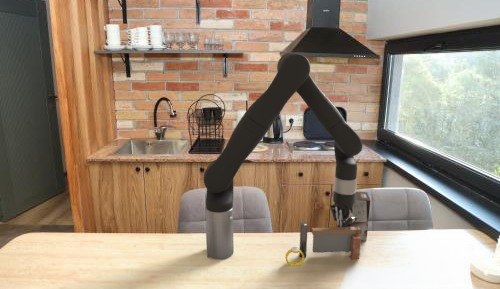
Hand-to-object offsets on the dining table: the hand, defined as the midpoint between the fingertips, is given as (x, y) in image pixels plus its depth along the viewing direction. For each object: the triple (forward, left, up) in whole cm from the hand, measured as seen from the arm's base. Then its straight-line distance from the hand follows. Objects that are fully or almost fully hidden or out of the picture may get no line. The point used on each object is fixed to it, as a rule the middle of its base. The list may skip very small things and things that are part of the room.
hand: (341, 234), depth 123 cm
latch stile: (+3, -7, -5) cm, 9 cm away
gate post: (-15, -4, -5) cm, 16 cm away
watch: (-18, -9, -6) cm, 21 cm away
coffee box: (+10, +10, -6) cm, 15 cm away
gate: (-4, -4, -4) cm, 7 cm away
